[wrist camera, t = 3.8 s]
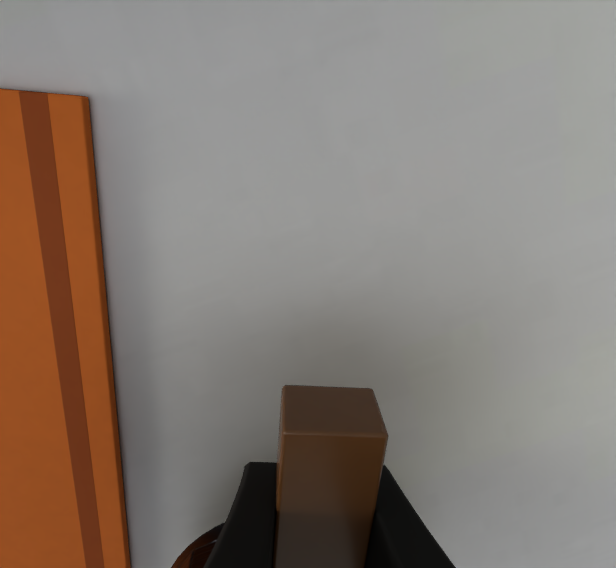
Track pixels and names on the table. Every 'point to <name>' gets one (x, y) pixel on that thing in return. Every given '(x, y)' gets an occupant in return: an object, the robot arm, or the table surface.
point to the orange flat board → (55, 345)
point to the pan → (320, 480)
